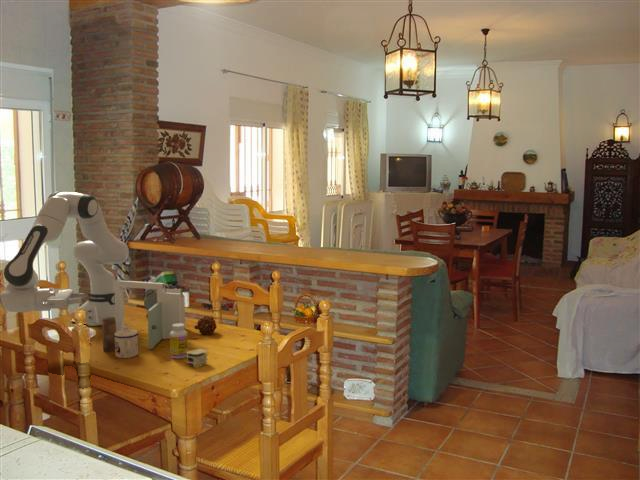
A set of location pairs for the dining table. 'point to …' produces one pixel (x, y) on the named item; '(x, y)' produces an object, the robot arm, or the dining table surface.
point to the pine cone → (206, 325)
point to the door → (155, 324)
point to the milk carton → (181, 302)
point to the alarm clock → (150, 299)
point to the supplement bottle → (178, 341)
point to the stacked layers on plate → (197, 357)
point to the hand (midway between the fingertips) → (82, 297)
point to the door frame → (168, 300)
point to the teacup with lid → (126, 343)
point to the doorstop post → (108, 334)
